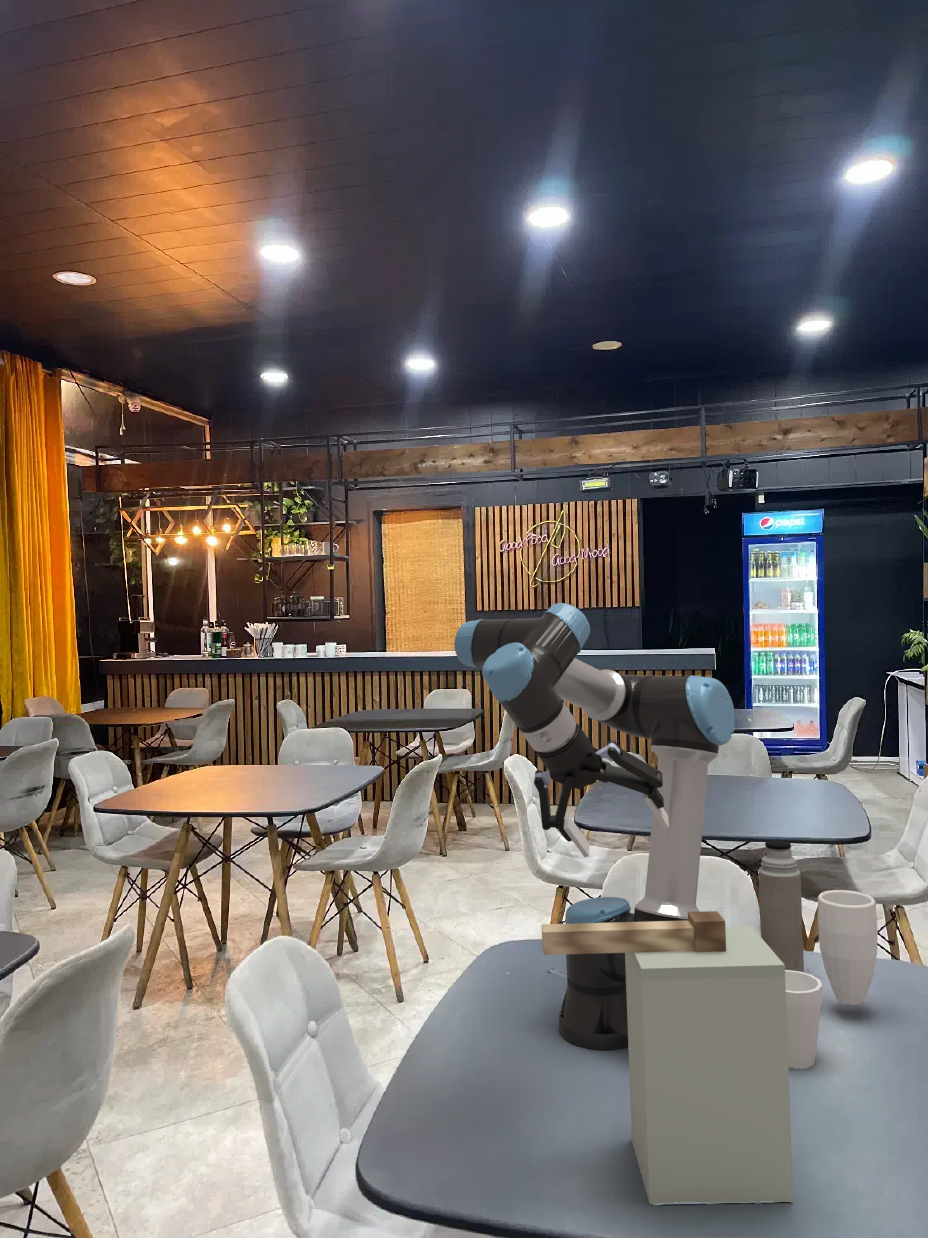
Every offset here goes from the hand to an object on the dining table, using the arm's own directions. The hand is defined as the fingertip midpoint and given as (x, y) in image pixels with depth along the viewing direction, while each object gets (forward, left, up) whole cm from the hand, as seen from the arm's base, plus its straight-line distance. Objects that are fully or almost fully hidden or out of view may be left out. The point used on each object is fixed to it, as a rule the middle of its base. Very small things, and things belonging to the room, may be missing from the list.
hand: (626, 837), depth 137 cm
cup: (+12, +50, -41) cm, 66 cm away
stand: (+17, -8, -41) cm, 45 cm away
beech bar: (+11, -14, -11) cm, 21 cm away
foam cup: (+12, +28, -41) cm, 51 cm away
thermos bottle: (-4, +56, -41) cm, 69 cm away
